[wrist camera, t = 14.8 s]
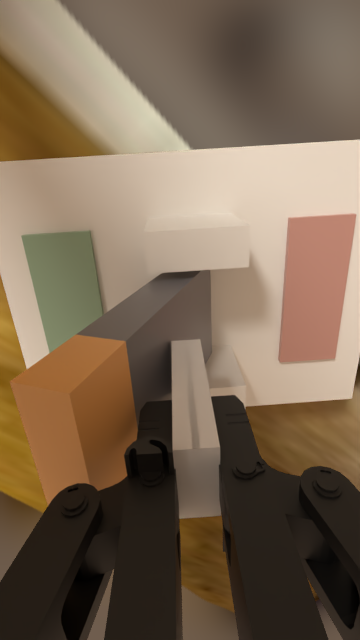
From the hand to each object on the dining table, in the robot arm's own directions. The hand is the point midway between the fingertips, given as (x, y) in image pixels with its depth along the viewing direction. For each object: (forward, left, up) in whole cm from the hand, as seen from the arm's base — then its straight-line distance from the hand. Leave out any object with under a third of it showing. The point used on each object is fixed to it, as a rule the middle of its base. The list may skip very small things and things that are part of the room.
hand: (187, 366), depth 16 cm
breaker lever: (+1, 0, -6) cm, 6 cm away
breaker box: (+1, 0, -13) cm, 13 cm away
